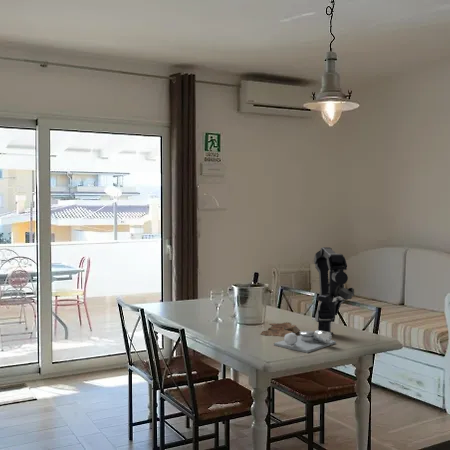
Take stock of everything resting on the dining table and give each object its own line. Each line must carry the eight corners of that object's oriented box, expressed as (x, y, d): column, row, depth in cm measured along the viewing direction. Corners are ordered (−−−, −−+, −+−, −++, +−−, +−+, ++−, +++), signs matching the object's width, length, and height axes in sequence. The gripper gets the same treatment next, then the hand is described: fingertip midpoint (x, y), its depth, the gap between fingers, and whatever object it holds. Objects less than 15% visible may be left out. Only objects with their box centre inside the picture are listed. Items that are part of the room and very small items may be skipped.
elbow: (296, 339, 256) (296, 328, 256) (306, 336, 262) (306, 325, 262) (323, 344, 246) (323, 333, 246) (333, 341, 252) (333, 330, 252)
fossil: (283, 339, 263) (283, 329, 263) (255, 334, 272) (255, 325, 272) (303, 331, 279) (303, 322, 279) (275, 327, 288) (275, 318, 288)
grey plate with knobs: (303, 336, 267) (303, 323, 267) (335, 343, 255) (335, 329, 255) (273, 345, 250) (274, 330, 250) (307, 352, 238) (307, 337, 238)
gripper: (337, 285, 242) (336, 320, 242) (362, 281, 254) (361, 315, 255) (317, 282, 250) (316, 316, 251) (342, 279, 263) (341, 311, 263)
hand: (334, 315), depth 255 cm, fingers closed
